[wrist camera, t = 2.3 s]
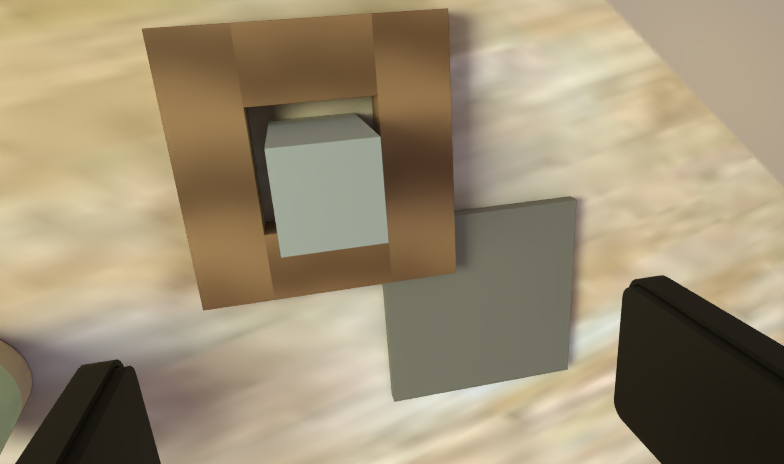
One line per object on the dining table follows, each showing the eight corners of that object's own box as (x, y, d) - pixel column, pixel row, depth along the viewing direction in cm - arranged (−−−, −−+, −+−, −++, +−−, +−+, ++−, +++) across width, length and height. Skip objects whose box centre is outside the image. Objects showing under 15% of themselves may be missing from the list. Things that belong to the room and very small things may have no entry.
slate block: (268, 121, 27) (264, 148, 20) (354, 112, 28) (380, 136, 21) (281, 203, 29) (281, 257, 22) (361, 193, 30) (388, 242, 22)
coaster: (377, 221, 30) (379, 225, 30) (569, 196, 32) (576, 199, 32) (391, 394, 35) (394, 401, 34) (561, 362, 36) (567, 369, 36)
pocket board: (152, 30, 25) (141, 28, 23) (436, 11, 27) (448, 8, 25) (208, 294, 30) (203, 310, 28) (446, 259, 32) (455, 272, 30)
